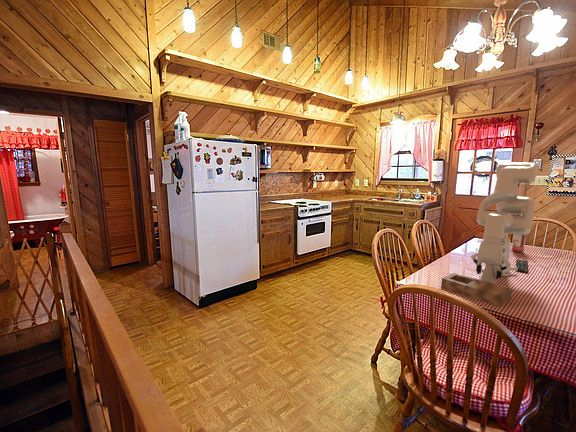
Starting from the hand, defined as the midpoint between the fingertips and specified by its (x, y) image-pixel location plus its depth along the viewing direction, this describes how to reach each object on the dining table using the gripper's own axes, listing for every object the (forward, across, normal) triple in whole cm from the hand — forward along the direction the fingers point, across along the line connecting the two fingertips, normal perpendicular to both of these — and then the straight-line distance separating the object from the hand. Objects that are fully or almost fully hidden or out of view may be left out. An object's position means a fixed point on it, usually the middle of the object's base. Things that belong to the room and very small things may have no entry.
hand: (488, 275), depth 138 cm
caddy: (+5, 0, +14) cm, 15 cm away
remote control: (+6, -1, -47) cm, 47 cm away
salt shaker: (+5, 0, 0) cm, 5 cm away
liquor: (+5, +10, -81) cm, 81 cm away
